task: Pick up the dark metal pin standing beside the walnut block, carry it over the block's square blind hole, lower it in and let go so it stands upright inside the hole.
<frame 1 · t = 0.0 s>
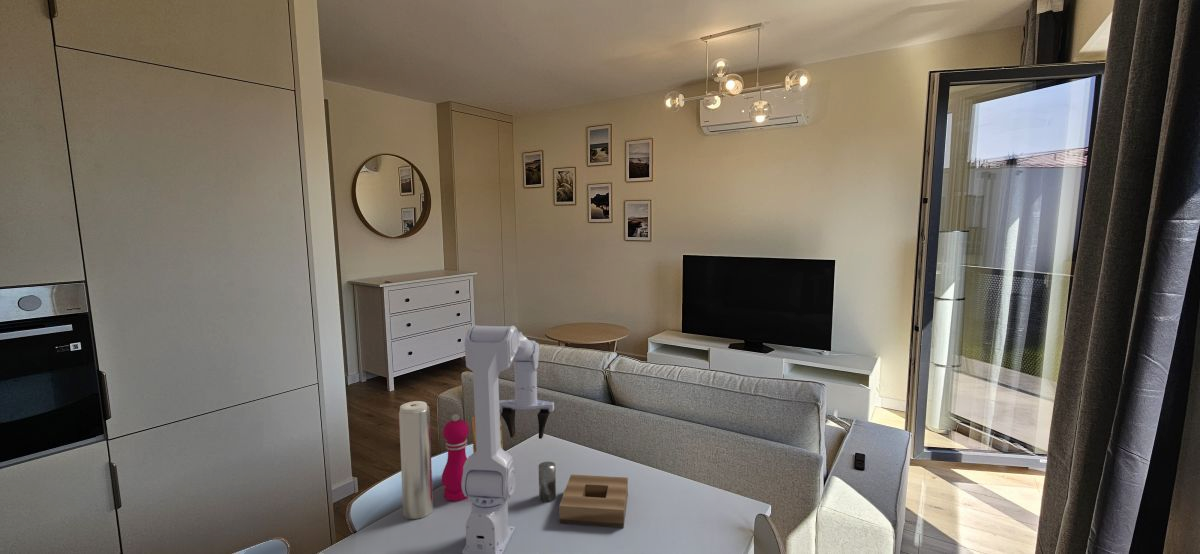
hand: (526, 436, 126), 10 cm above the table, tool pointing down, fingers open, 7 cm apart
candy box: (488, 476, 126), on the table
pepper mill: (458, 495, 116), on the table
pin: (547, 497, 115), on the table
bore block: (595, 507, 110), on the table
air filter: (418, 512, 109), on the table
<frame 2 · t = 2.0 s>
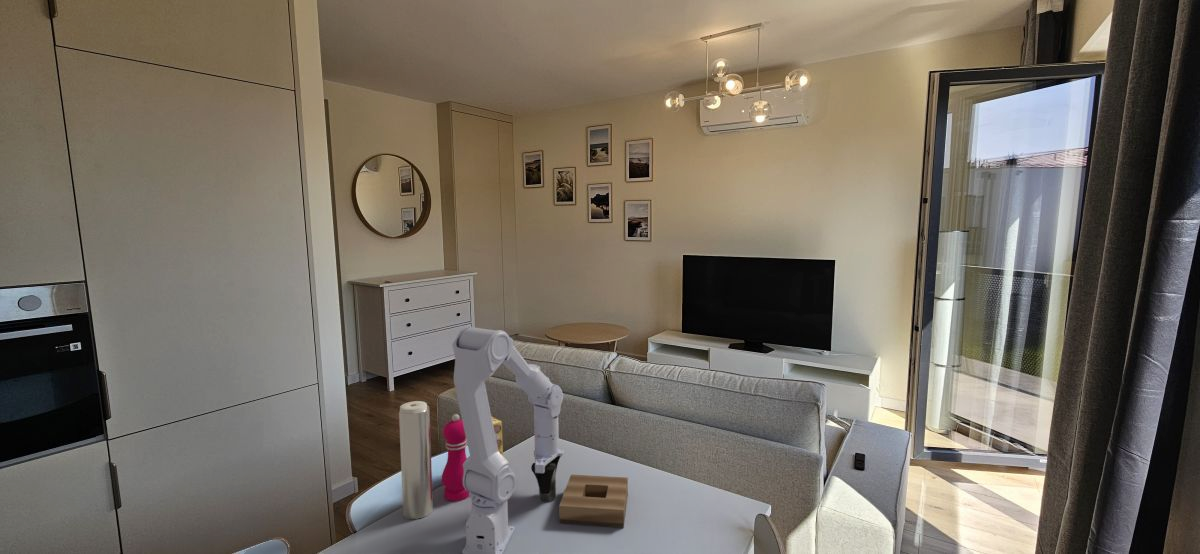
hand: (547, 487, 114), 2 cm above the table, tool pointing down, fingers closed on pin, 4 cm apart
pin: (547, 497, 115), on the table, touching gripper
everything else where it was.
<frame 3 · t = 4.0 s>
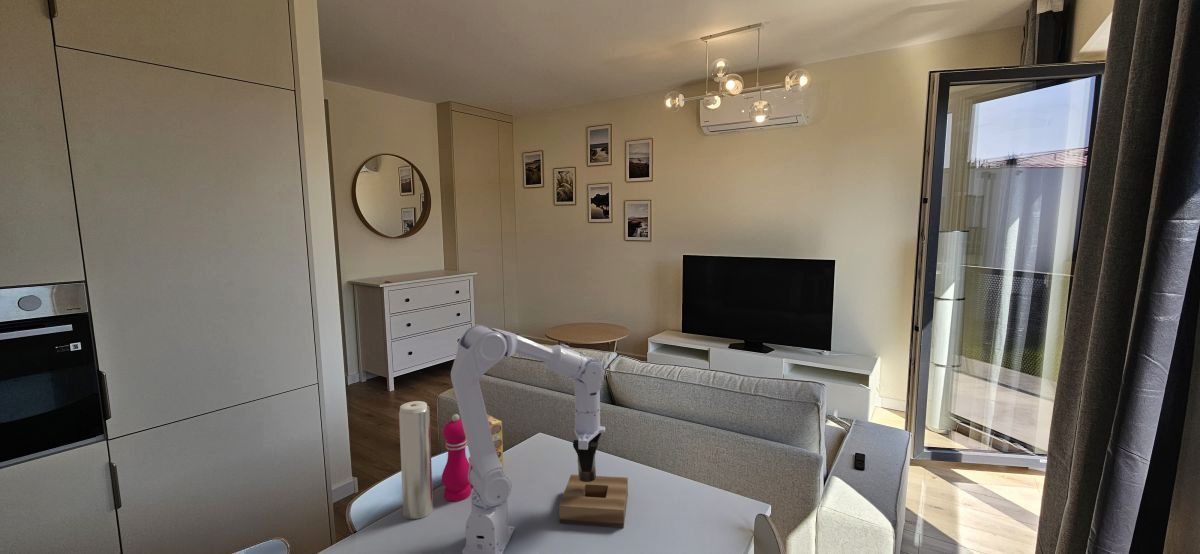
hand: (588, 466, 110), 9 cm above the table, tool pointing down, fingers closed on pin, 4 cm apart
pin: (587, 477, 110), point 7 cm above the table, touching gripper
everything else where it was.
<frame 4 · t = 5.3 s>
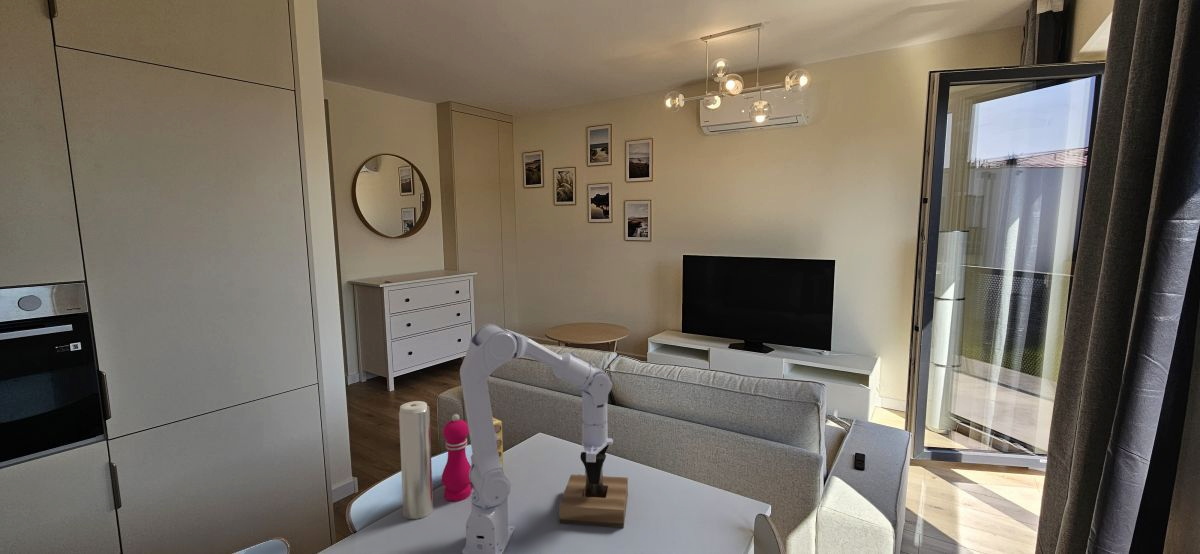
hand: (595, 478, 110), 7 cm above the table, tool pointing down, fingers closed on pin, 4 cm apart
pin: (594, 489, 110), point 4 cm above the table, touching gripper
everything else where it was.
when the fingers open (5 cm above the table, at t = 6.2 s): pin stays where it is, resting on bore block.
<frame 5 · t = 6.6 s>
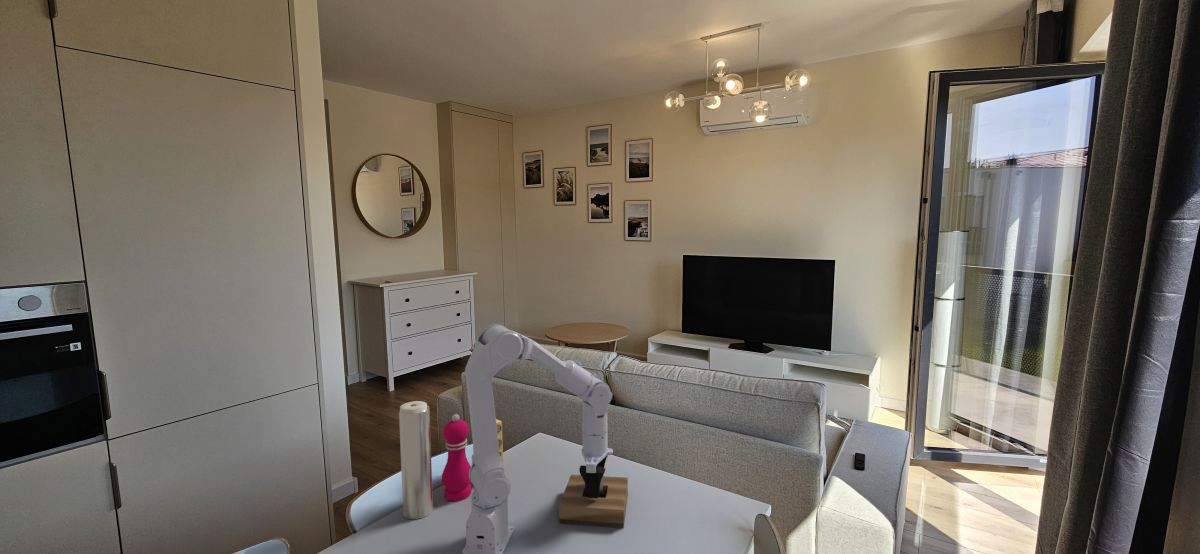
hand: (595, 488, 110), 5 cm above the table, tool pointing down, fingers open, 7 cm apart
pin: (594, 503, 110), point 1 cm above the table, touching bore block
everything else where it was.
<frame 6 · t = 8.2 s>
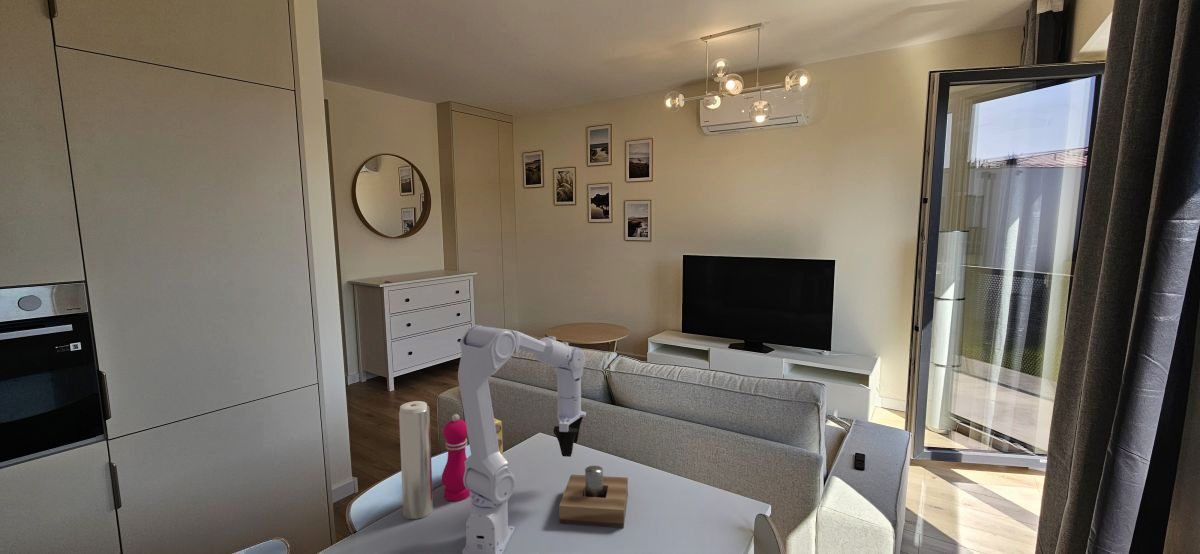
hand: (569, 448, 118), 10 cm above the table, tool pointing down, fingers open, 7 cm apart
nothing on the table moved.
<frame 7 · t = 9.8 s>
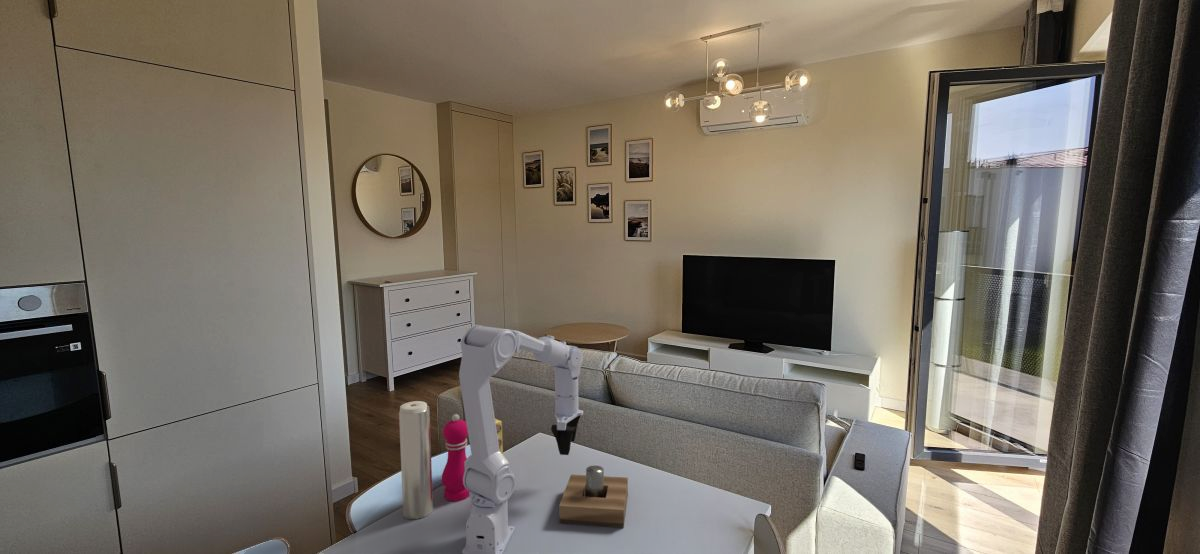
hand: (567, 447, 118), 10 cm above the table, tool pointing down, fingers open, 7 cm apart
nothing on the table moved.
at the end: pin 0.2 cm off-centre on the bore block, point 1.0 cm above the bore block's base; pin tilted 1°; the gripper is holding nothing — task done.
